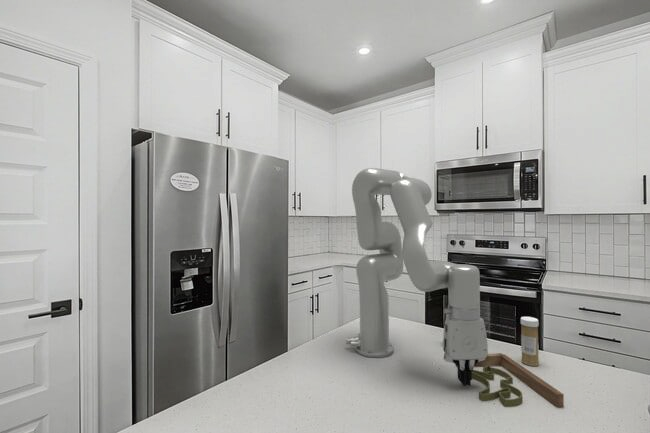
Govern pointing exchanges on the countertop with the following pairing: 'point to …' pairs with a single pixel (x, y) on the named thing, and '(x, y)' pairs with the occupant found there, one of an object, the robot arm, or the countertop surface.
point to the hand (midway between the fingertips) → (464, 383)
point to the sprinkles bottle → (529, 341)
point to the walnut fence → (524, 377)
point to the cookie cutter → (504, 384)
